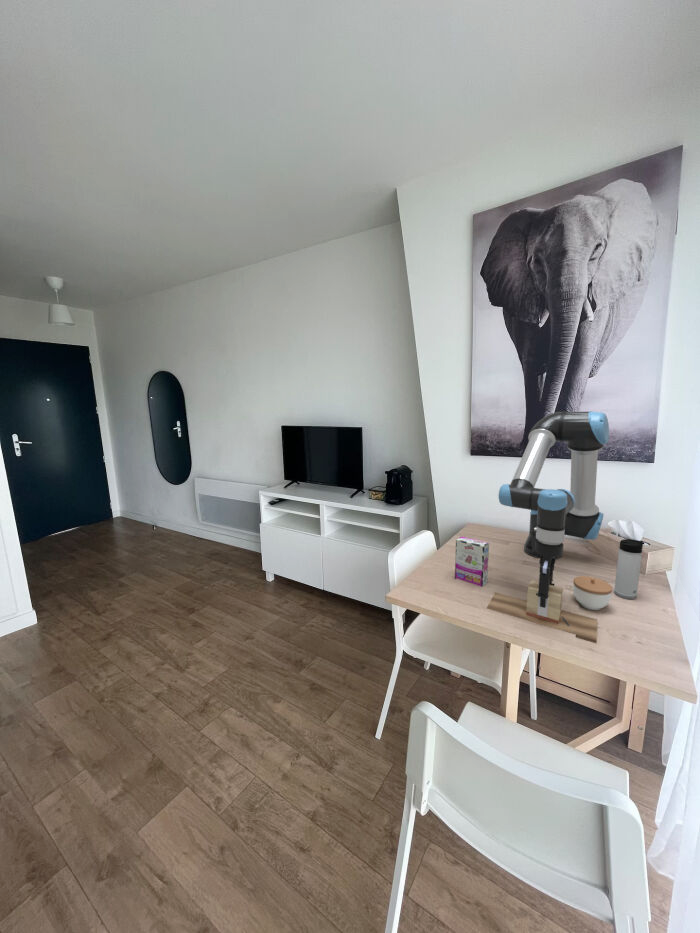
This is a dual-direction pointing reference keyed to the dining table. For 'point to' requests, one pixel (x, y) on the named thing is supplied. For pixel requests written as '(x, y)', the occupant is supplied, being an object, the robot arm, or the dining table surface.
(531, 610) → the block
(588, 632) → the board
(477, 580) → the candy bar box
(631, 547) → the travel mug
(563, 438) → the robot arm
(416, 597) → the dining table surface
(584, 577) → the lidded jar
